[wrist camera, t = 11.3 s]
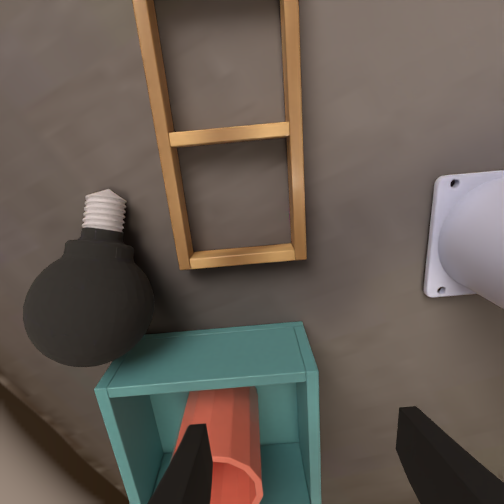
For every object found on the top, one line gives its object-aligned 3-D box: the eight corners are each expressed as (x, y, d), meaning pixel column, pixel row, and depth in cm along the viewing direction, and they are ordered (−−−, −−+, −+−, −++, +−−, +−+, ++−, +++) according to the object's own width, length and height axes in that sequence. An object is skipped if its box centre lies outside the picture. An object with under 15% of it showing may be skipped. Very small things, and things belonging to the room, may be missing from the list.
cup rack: (292, -31, 14) (297, -52, 13) (302, 252, 19) (306, 259, 18) (137, -15, 15) (125, -35, 13) (184, 262, 19) (179, 270, 18)
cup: (254, 365, 21) (257, 451, 15) (261, 422, 23) (266, 521, 16) (182, 372, 21) (155, 460, 15) (194, 428, 23) (174, 529, 16)
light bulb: (123, 170, 13) (99, 396, 13) (181, 203, 19) (167, 355, 19) (7, 168, 14) (-21, 375, 14) (97, 200, 21) (81, 343, 20)
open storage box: (302, 320, 21) (318, 370, 16) (306, 440, 24) (321, 512, 19) (129, 335, 21) (93, 389, 16) (159, 452, 24) (136, 526, 19)
